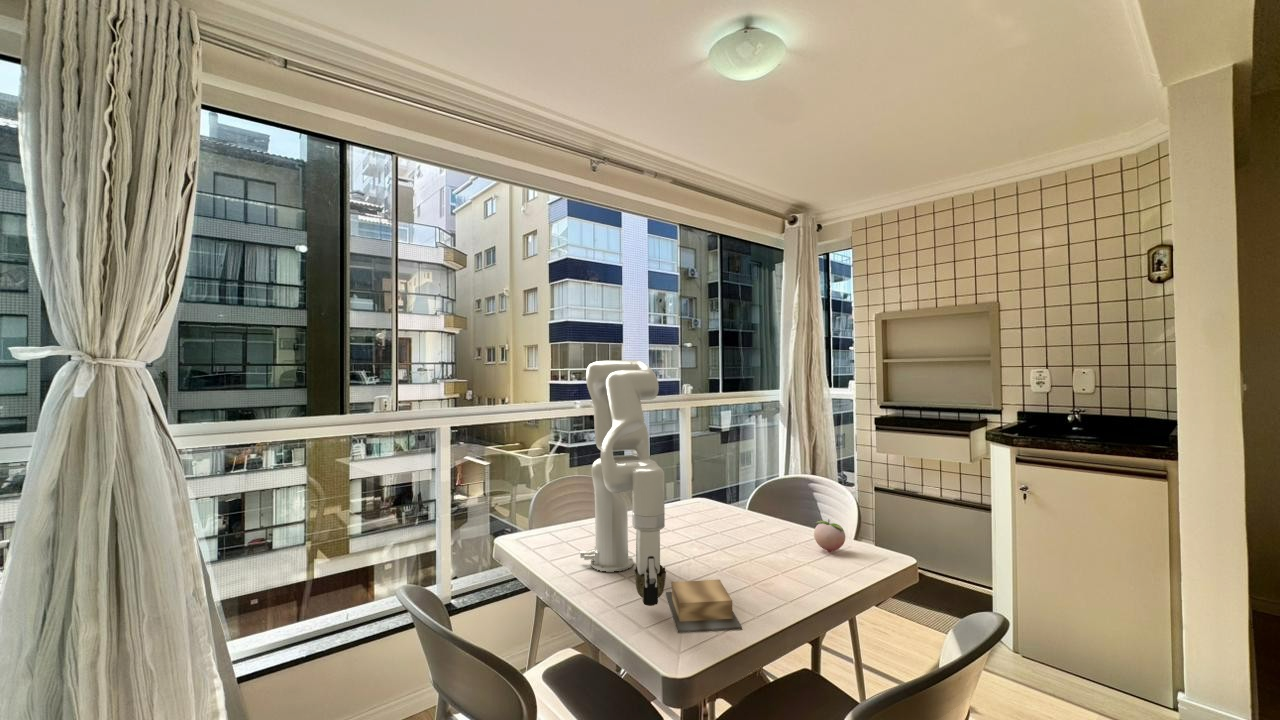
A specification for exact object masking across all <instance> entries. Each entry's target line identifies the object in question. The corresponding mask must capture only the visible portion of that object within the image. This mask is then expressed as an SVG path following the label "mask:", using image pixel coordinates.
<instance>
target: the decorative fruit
mask: <svg viewBox="0 0 1280 720" xmlns="http://www.w3.org/2000/svg"><path fill="white" fill-rule="evenodd" d="M815 525H816V526H815V528H814V530H813V536H814V540H815V542H816V543H817V545H818V546H819V547H820V548H821V549H824V550H825V551H827V552H829V553H831V552H836V551H838V550H840V549H841V548H842V546H844V544H845V542H846V533H845V530H844V529H843V527H842V526H841V525H840V524H839V523H838V524H837V523H830V519H828V521H826V520H819V521H817V522H815Z"/></svg>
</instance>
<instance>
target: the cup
mask: <svg viewBox="0 0 1280 720" xmlns="http://www.w3.org/2000/svg"><path fill="white" fill-rule="evenodd" d="M633 571H634V578H635V579H634V580H635V581H634V582H635V587H636V591H637V594H638V595H639V597H641V598H642V600H641V601H642V603H643V604H644V587H643V586H645V580H644V574H641V575H640V574H639V573H638V570H637V565H636V566H635V568H634V570H633ZM647 571H649V570H646V573H648V572H647ZM666 575H667V570H666V567H665V566H663V565H661V564H660V572H659V573H658V574H657V586H658V599H659V598H660V597H661V596H662V594H663V593H664V590H665V586H666V585H665V584H666V578H667V577H666ZM648 578H649V576H648ZM648 578H647V580H648ZM646 606H647V607H653V606H655V605H646Z"/></svg>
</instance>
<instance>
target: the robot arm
mask: <svg viewBox="0 0 1280 720" xmlns="http://www.w3.org/2000/svg"><path fill="white" fill-rule="evenodd" d="M585 380H586V387H587V390H588V394H589V396H590V399H591V402H592V406H593V420H594V421H593V422H594V424H593V425H594V439H595V445H596V448H597V449H598V450H599V451H600V457H598V458H596V459H595V460H594V462H593V463H592V465H591V479H592V485H593V491H594V492H593V493H594V515H595V516H594V518H595V519H594V520H595V525H594V528H595V535H594V536H595V546H594V549H591V550H588V551H587V550H581V551H580V559H583V561H590V567H591V566H592V567H593V568H595V569H597V570H596V571H598V570H600V571H599V572H602V571H606V572H605V573H615V572H614V571H619V572H622V571H621V570H623V571H626V570H629V569H630V568H632V567H633V565H634V558H633V557H631V556H630V555H629V531H628V530H629V526H628V520H629V519H628V503H627V500H626V498H625V497H624V496H623V495H622V494H621V493H631V494H632V498H631V500H632V501H631V502H632V503H631V504H632V516H631V517H632V528H633V529H635V530H636V534H635V545H636V546H635V564H636V566H637V570H638V573H639V574H640V575H641V574H644V580H645V586H643V587H644V603H643V604H644V605H645V606H647V605H654V606H656V605H658V604H659V598H658V586H657V574H658V573H659V572H660V565H661V530H663V529H664V528H665V527H666V524H665V522H666V521H665V520H666V519H665V518H666V517H665V515H666V514H665V508H666V507H665V472H664V470H663V468H662V467H660V466H659V465H658V463H657V462H656V461H655V460H653V459H651V458H650V444H649V443H650V441H649V432H648V427H647V424H646V423H645V416H644V412H643V407H642V402H641V401H651V400H654V399H656V398H657V397H658V394H659V392H660V391H659V388H660V387H659V381H658V378H657V375H656V373H655V372H654V370H653V369H652V368H651V367H650V366H648V365H647V364H646V363H645V362H643V361H641V360H635V359H634V360H631V359H629V360H625V359H624V360H621V359H619V360H617V359H616V360H615V359H609V360H607V359H606V360H597V361H593V362H592V363H589V365H588V366H587V368H586V372H585ZM623 451H624V452H625V451H626V452H627V451H631V453H632V454H624V455H620V454H619V455H614V452H623ZM592 567H591V568H592ZM593 568H592V569H593ZM628 568H629V569H628ZM595 569H594V570H595ZM625 569H626V570H625ZM646 570H649V571H647V572H648V573H646ZM648 576H649V578H648ZM647 578H648V580H647Z"/></svg>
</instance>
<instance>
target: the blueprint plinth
mask: <svg viewBox="0 0 1280 720" xmlns="http://www.w3.org/2000/svg"><path fill="white" fill-rule="evenodd" d="M665 595H666V599H667V601H668V602H667V603H668V605H669V608H670V611H671V616H672V618H673V621H674V623H675V627H676V630H677V633H678V634H685V633H700V632H717V631H718V632H719V631H720V632H721V631H732V630H733V631H737V630H743V627H742V624H741V623H740V621H739V619H738V617H737V616H736V614H735V612H734V610H733V599H732V597H731V595H729V592H728V591H727V589H726V587H725V585H724V584H723V583H722V581H721V579H704V580H703V579H702V580H701V579H700V580H685V581H684V580H683V581H671V591H665Z"/></svg>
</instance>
